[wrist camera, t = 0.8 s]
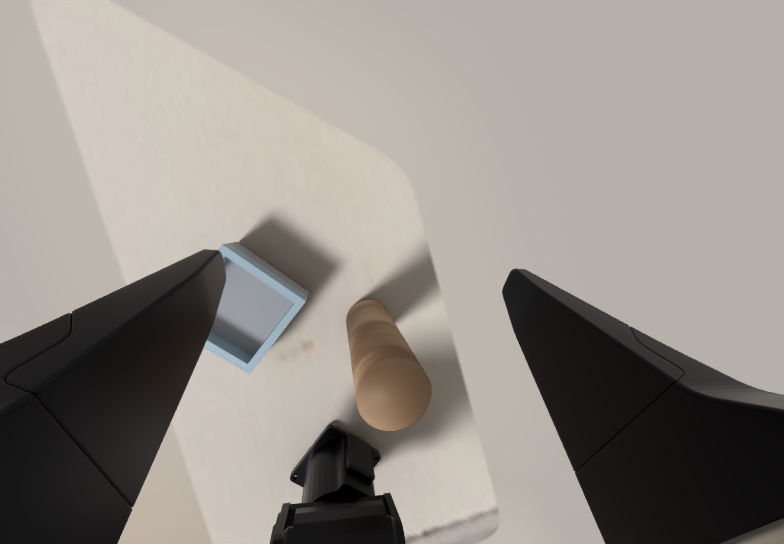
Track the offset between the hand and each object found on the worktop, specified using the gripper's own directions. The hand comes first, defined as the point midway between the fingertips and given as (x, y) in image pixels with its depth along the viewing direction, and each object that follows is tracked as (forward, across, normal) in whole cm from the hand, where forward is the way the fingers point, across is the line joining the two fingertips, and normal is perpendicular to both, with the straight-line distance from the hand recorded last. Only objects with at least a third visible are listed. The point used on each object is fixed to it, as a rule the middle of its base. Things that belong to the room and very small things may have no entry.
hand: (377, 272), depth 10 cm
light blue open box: (+14, +8, +13) cm, 21 cm away
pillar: (+13, -2, +15) cm, 20 cm away
